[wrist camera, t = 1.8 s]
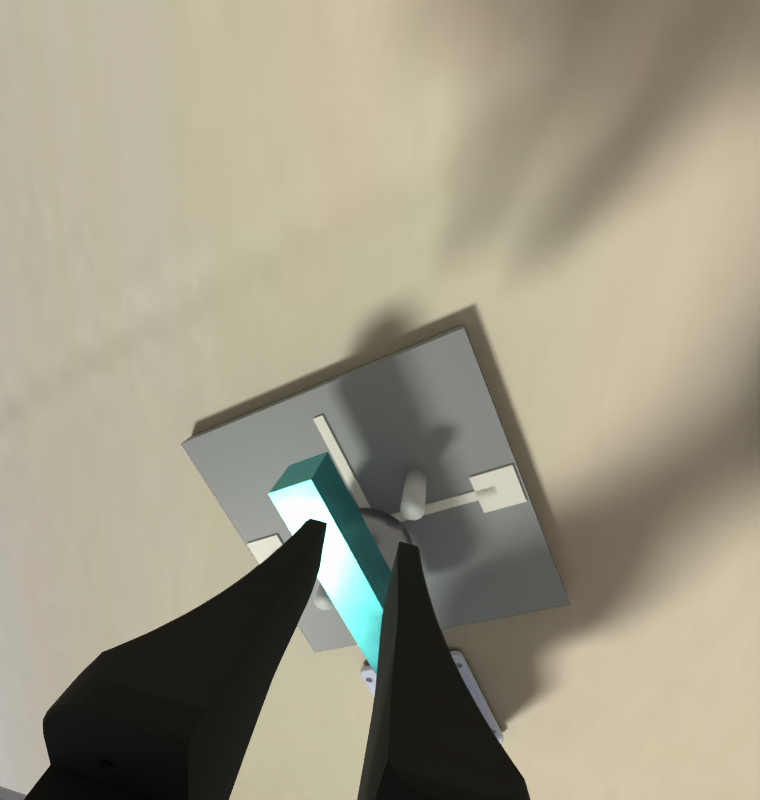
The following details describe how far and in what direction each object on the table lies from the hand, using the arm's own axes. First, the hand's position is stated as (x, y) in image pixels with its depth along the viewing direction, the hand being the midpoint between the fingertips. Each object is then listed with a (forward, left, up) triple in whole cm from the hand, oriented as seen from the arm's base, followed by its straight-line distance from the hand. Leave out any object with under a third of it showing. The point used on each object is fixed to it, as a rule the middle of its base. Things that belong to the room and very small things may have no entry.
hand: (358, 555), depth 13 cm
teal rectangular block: (-5, +3, -7) cm, 9 cm away
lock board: (-5, +3, -10) cm, 11 cm away
